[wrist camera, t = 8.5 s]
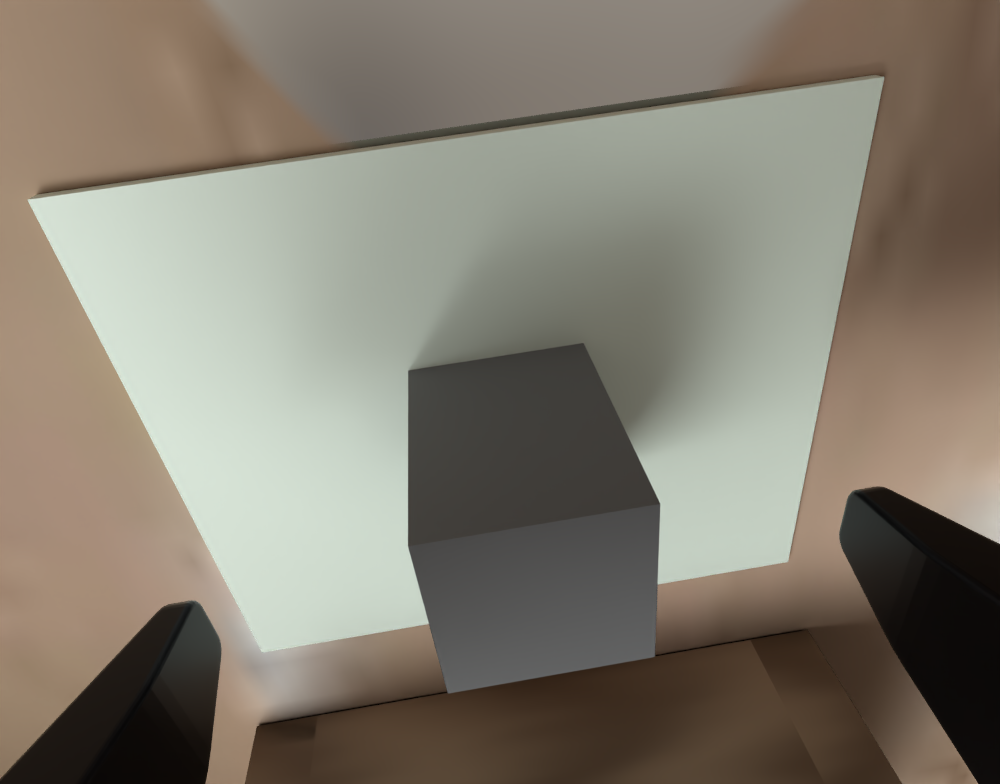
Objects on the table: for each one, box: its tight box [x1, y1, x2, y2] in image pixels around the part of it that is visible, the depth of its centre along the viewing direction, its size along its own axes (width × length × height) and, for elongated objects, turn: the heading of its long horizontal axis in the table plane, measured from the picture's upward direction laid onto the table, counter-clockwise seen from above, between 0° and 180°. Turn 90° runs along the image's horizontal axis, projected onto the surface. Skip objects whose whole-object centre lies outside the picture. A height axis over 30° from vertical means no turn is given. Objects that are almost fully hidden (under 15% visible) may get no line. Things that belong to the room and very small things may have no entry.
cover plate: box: [28, 75, 884, 694], centre depth 10 cm, size 12×10×5 cm
